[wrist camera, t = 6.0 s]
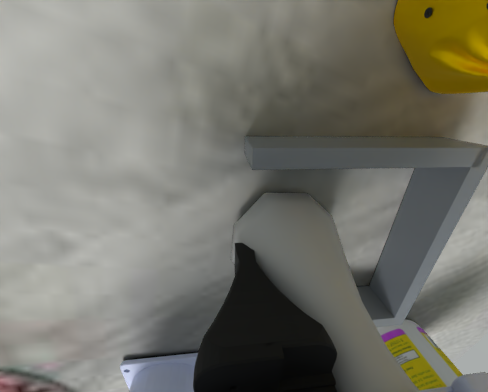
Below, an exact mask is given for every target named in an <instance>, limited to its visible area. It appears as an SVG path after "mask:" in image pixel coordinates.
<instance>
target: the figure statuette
mask: <svg viewBox="0 0 488 392" xmlns="http://www.w3.org/2000/svg"><path fill="white" fill-rule="evenodd" d="M394 27H395V31H396V34H397V37H398V39H399V41H400V43H401V45H402V47H403V49H404V51H405V53H406V54H407V56H408V58H409V61H410V63H411V65H412V67H413V69H414V70H415V72H416V73H417V75H418V76H419V77H420V79H421V80H422V81H423V83H424V84H425V86H426V87H427V88H428V89H429V90H430V91H432V92H435V93H440V94H457V93H475V92H488V0H398V2H397V6H396V9H395V13H394Z"/></svg>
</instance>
